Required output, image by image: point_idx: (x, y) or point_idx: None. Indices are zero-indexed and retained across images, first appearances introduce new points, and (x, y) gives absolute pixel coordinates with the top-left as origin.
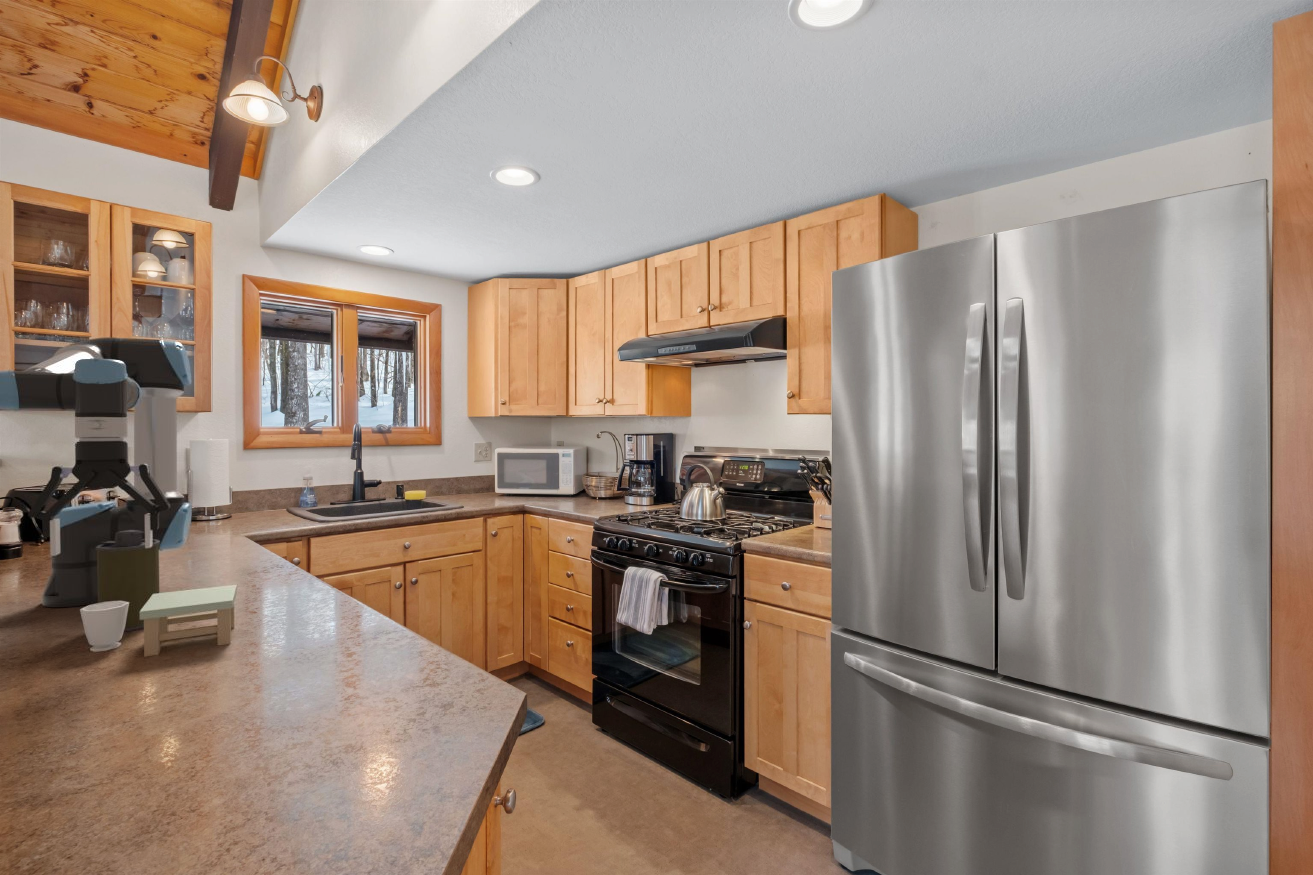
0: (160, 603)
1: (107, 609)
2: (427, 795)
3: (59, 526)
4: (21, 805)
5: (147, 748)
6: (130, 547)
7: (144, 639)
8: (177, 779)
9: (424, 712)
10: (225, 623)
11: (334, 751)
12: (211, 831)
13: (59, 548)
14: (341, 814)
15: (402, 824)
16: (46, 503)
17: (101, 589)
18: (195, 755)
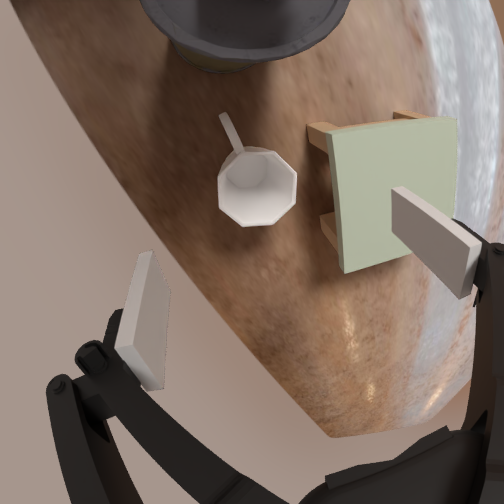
0: (364, 227)
1: (276, 221)
2: (438, 404)
3: (141, 321)
4: (319, 422)
5: (360, 392)
6: (294, 54)
7: (330, 242)
8: (374, 408)
9: (467, 359)
10: None
11: (428, 389)
12: (383, 424)
13: (153, 266)
14: (416, 414)
15: (427, 414)
16: (98, 439)
17: (187, 54)
18: (381, 395)
